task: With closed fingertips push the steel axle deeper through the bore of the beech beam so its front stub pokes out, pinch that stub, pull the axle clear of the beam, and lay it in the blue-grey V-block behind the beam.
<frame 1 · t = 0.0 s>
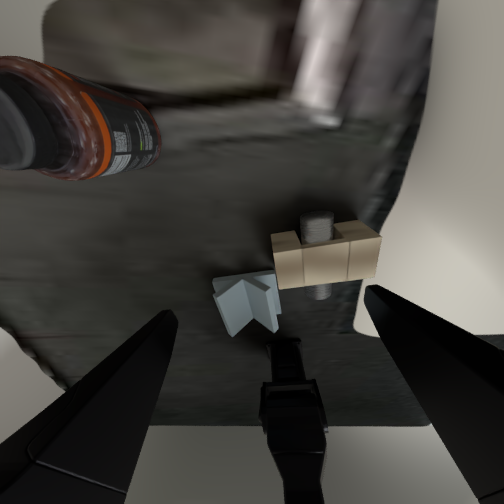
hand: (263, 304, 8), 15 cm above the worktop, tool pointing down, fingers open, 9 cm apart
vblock: (248, 294, 28), on the worktop
supplement bottle: (134, 135, 18), on the worktop
beam: (313, 244, 23), on the worktop
axle: (316, 257, 22), point 2 cm above the worktop
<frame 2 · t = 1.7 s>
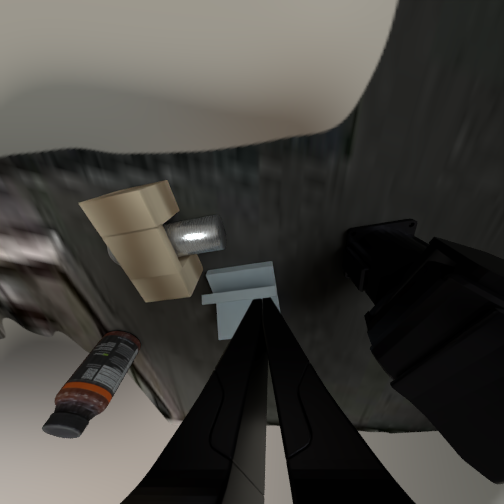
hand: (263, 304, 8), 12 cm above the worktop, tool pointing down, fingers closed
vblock: (246, 293, 24), on the worktop
supplement bottle: (125, 339, 30), on the worktop
beam: (166, 234, 20), on the worktop
axle: (169, 241, 18), point 2 cm above the worktop, tilted 9°
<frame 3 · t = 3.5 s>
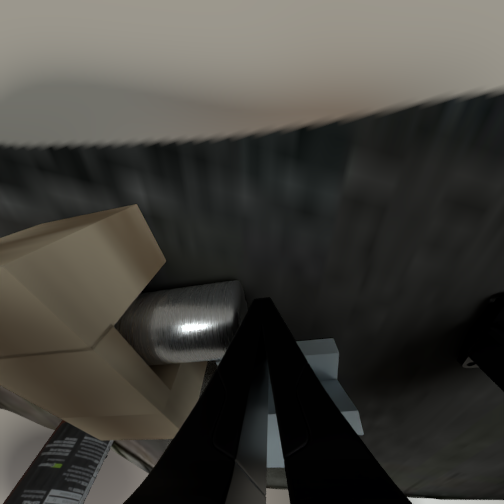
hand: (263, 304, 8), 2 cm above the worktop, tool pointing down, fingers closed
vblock: (281, 376, 15), on the worktop
supplement bottle: (97, 416, 21), on the worktop
beam: (144, 298, 11), on the worktop
axle: (139, 327, 9), point 2 cm above the worktop, tilted 17°, touching gripper
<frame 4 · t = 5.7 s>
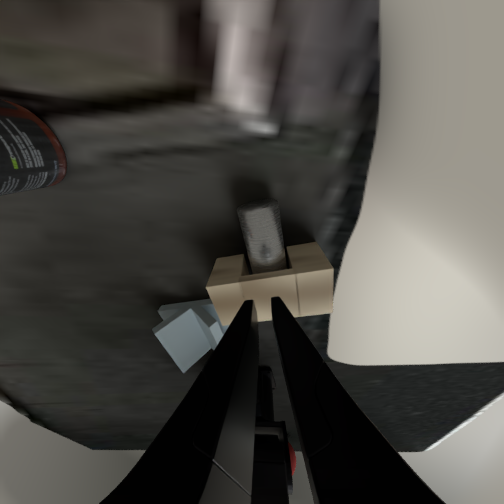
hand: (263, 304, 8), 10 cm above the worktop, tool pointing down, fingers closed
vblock: (204, 322, 24), on the worktop
supplement bottle: (34, 148, 15), on the worktop
beam: (268, 269, 20), on the worktop
axle: (267, 260, 17), point 2 cm above the worktop, tilted 6°
onion: (281, 434, 45), on the worktop
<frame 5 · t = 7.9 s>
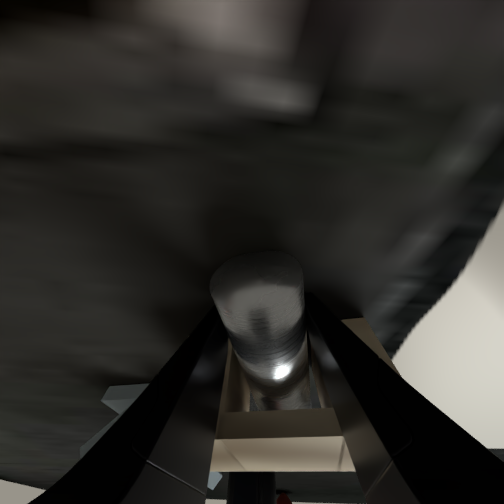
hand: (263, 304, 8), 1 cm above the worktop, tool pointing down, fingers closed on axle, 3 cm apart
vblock: (177, 404, 16), on the worktop
beam: (276, 351, 12), on the worktop
axle: (273, 355, 9), point 2 cm above the worktop, touching gripper
onion: (282, 490, 37), on the worktop
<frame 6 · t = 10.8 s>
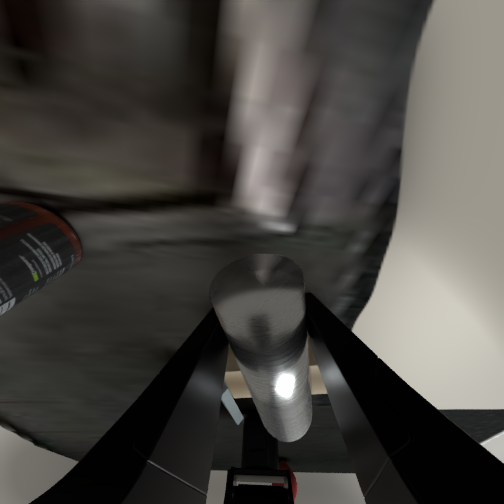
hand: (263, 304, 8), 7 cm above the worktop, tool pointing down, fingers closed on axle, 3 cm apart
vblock: (212, 373, 25), on the worktop
supplement bottle: (50, 235, 15), on the worktop
beam: (278, 335, 20), on the worktop
axle: (274, 360, 9), point 7 cm above the worktop, touching gripper
onion: (282, 459, 46), on the worktop
when the fingers open (5 cm above the worktop, at t = 13.5 s): axle drops 2 cm, resting on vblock.
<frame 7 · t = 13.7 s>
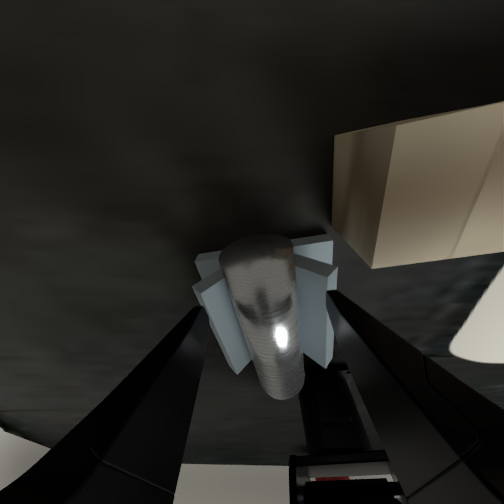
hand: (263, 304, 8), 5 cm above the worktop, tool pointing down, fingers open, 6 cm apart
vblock: (268, 287, 14), on the worktop
beam: (433, 167, 10), on the worktop
axle: (271, 325, 11), point 4 cm above the worktop, touching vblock
onion: (325, 449, 35), on the worktop
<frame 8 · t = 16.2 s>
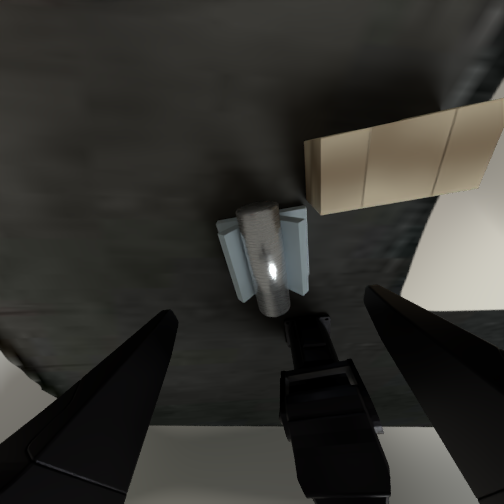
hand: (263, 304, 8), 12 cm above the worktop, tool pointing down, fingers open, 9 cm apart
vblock: (265, 246, 20), on the worktop
beam: (365, 160, 16), on the worktop
axle: (266, 263, 17), point 4 cm above the worktop, touching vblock
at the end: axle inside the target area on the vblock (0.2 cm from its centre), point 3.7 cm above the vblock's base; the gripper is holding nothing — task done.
